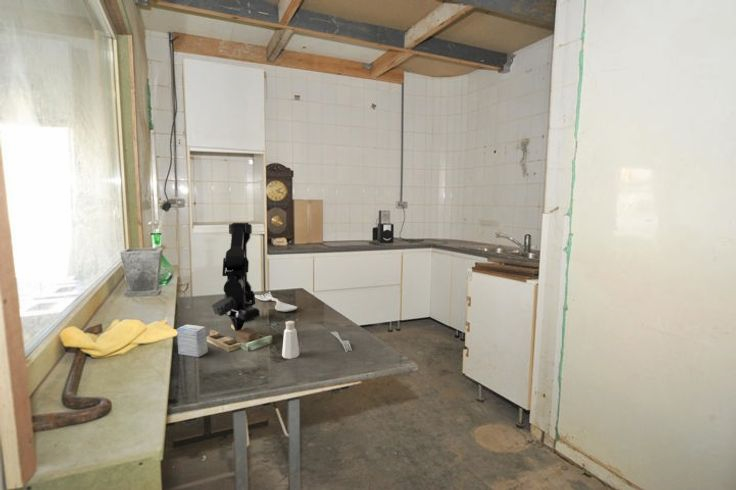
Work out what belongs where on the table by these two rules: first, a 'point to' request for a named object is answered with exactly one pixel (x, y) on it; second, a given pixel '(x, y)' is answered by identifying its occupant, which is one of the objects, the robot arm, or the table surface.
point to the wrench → (276, 327)
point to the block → (247, 335)
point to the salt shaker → (290, 341)
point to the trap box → (228, 342)
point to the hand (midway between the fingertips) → (238, 332)
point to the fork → (342, 341)
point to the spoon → (279, 305)
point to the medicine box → (192, 340)
